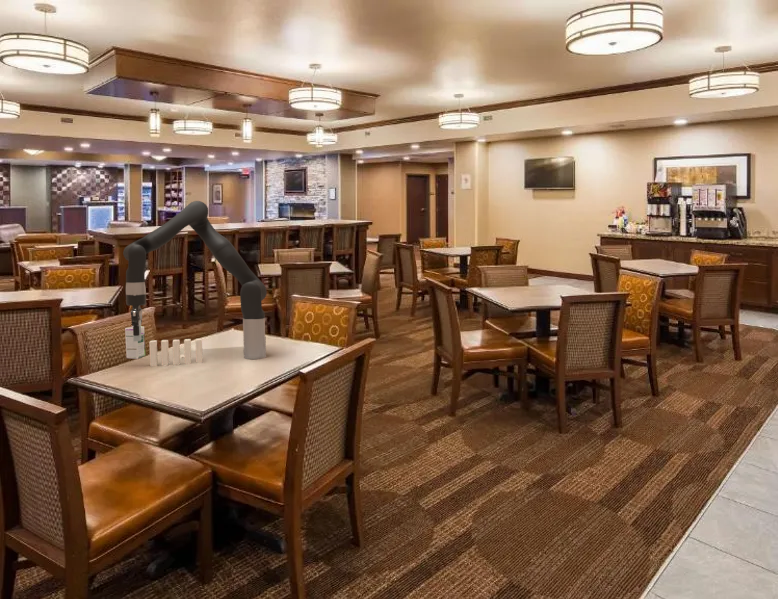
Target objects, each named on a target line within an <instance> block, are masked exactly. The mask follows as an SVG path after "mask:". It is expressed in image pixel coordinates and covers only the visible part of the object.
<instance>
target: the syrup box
mask: <svg viewBox="0 0 778 599" xmlns="http://www.w3.org/2000/svg"><path fill="white" fill-rule="evenodd" d="M124 335H125V337H124V338H125V353H126V359H136V360H138V359H141V358H143V357H145V356H146V355H147V354H146V337H145V326H144V325H143V326H142V325H141V340H140V341H133V326H129V327H125V328H124Z"/></svg>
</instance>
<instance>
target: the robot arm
mask: <svg viewBox="0 0 778 599" xmlns="http://www.w3.org/2000/svg"><path fill="white" fill-rule="evenodd" d="M208 216H209V207H208V206H207V204H206V203H205V202H203V201H200V200H194V201H191V202H190V203H188V205H187V206H185V207H184V208H183V209H182V210H181V211H179V213H177V214H176V215H174V217H172V218H171V219H170V220H168V221H166V222H165V223H163V224H162V225H161V226H159V227H157V228H156V229H154V230H153V231H151V232H149V233H148V234H146V235H145V236H143V237H142V238H139V239H138V240H135V241H134V242H132V243H130V244H127V246H125V247H124V249H123V252H122V254H123V257H124V258H125V260H126V261H128V262H127V263H128V264H127V265H128V266H127V269H126V272H125V301H126V302H125V304H126V306H131V307H132V308H131V309H130V316H131V317H130V320H131V321H130V322H131V327H133V326H134V327H133V335H134V336H138V335H139V321H140V320H141V325H142V323H143V320H142V319H143V309H142V308H141V306H145V305H147V291H146V290H147V289H146V280H145V279H146V277H145V276H146V275H145V270H146V262H147V254H149V253H151V252H154V251H156V250H159V249H160V248H161V247H164V246H165V245H166V244H167V243H169V242H170V241H171V240H173V239H174V238H175V237H176V236H177V235H178V234H179V233H180V232H181V231H182V230H184V228H185V229H186V228H187V227H188V226H189V227H190V228H191V229H192V230H193V231H194V232H195V233H196V234H197V235H198V236H199V237H200V239H201V240H202V241H203V243H204V244H205V246H206V247H207V248H208V250H209V251H210V252H211V254H212V255H213V257H214V259H216V261H217V262H218V263H219V265H221V267H222V268H223V269H225V270H226V271H227V273H229V274H231V276H233V277H234V278H235V279H237V281H238V282H239V284H240V285H241V288H240V294H239V296H240V299H239V300H240V310H241V313H242V330H243V331H242V336H243V337H242V339H243V341H242V342H243V358H244V359H246V360H260V359H265V358H267V348H266V345H267V344H266V343H267V342H266V322H265V320H266V316H265V315H266V312H265V311H264V310H263V305H262V304H263V303H262V301H263V300H265V299H266V297H267V293H268V292H267V287H266V285H265V284H264V283H263V282H262V280H260V279H259V278H258V277H257V275H256V274H255V273H254V272H253V271H252V270H251V269H250V267H249V266H248V265H247V263H246V262H245V260H244V259H243V257H242V256H241V255H240V253H239V251H238V250H237V249H236V248H235V246H234V245H233V244H232V243H231V241H230V240H229V239H228V238H226V237H225V236H224V235H222V234H220V233H219V232H218V231H217V230H216V229H215V227H213V225H212V223H211V222H210V220H209V219H208ZM138 317H139V318H138ZM134 321H137V322H134Z"/></svg>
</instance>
